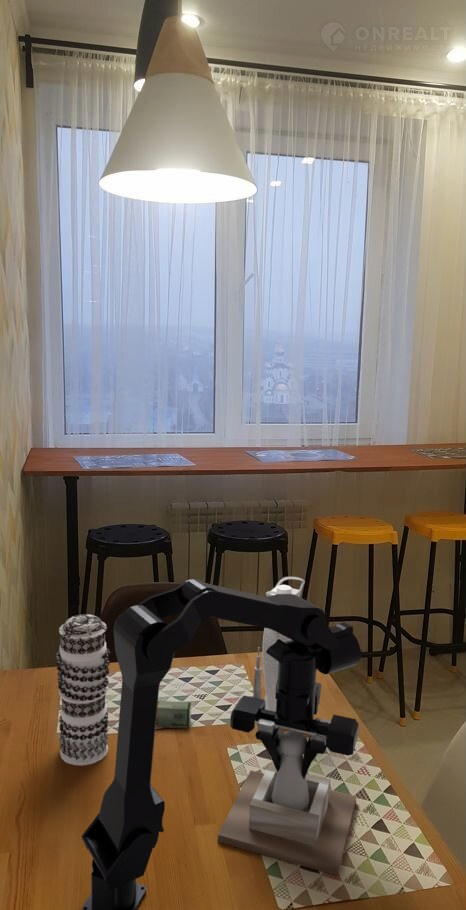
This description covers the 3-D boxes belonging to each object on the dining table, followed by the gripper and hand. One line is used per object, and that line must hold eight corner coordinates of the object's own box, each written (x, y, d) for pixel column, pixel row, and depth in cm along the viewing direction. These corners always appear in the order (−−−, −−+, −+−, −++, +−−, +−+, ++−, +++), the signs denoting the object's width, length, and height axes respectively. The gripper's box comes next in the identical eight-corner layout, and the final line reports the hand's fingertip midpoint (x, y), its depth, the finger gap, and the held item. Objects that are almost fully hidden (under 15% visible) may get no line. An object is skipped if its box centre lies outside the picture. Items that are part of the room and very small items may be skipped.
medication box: (191, 720, 132) (191, 701, 131) (189, 728, 129) (190, 708, 129) (130, 717, 133) (130, 698, 132) (127, 725, 130) (127, 705, 129)
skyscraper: (289, 698, 141) (295, 570, 135) (305, 719, 133) (312, 584, 128) (251, 704, 138) (255, 573, 133) (264, 726, 130) (270, 588, 125)
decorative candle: (85, 729, 128) (83, 604, 123) (121, 747, 123) (120, 617, 118) (46, 753, 120) (43, 621, 116) (83, 773, 115) (81, 636, 111)
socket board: (337, 875, 95) (340, 843, 94) (217, 841, 101) (218, 810, 100) (356, 802, 110) (358, 774, 109) (250, 776, 116) (251, 749, 115)
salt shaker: (306, 828, 102) (310, 749, 99) (268, 821, 103) (272, 744, 100) (309, 802, 107) (314, 727, 105) (274, 796, 108) (277, 722, 106)
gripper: (367, 667, 106) (360, 758, 108) (253, 646, 111) (249, 732, 114) (355, 703, 95) (349, 802, 98) (230, 677, 101) (227, 771, 104)
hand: (291, 774), depth 104 cm, fingers closed on salt shaker, 3 cm apart
